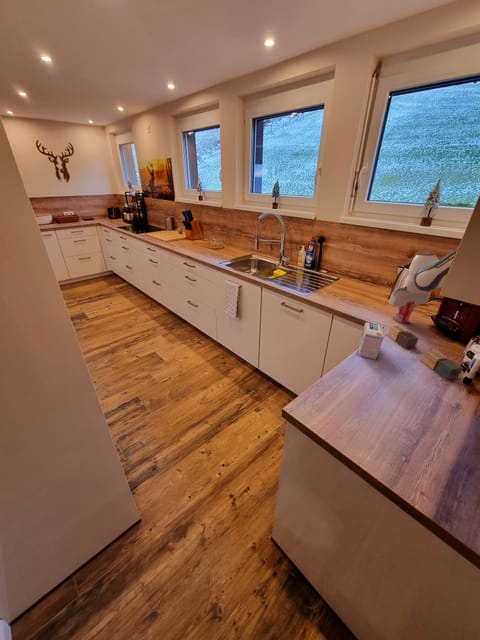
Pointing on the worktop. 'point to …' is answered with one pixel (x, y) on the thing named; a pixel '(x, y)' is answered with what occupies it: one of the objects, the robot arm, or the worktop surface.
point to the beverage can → (405, 312)
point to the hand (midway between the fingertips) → (404, 312)
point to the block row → (431, 358)
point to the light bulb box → (371, 340)
